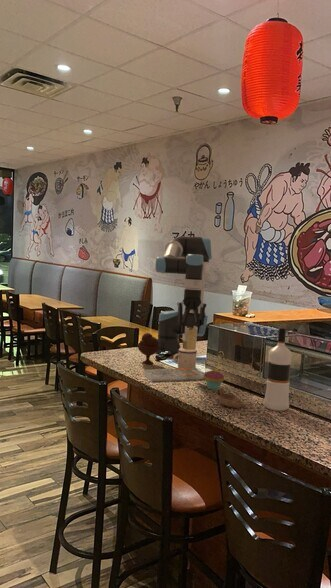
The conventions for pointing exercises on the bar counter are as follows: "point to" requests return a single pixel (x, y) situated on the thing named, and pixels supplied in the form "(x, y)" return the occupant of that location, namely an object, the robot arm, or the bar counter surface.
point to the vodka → (278, 375)
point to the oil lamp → (228, 399)
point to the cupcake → (214, 378)
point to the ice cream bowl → (148, 347)
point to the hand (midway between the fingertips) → (189, 340)
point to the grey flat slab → (173, 374)
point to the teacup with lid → (186, 358)
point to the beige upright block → (190, 339)
